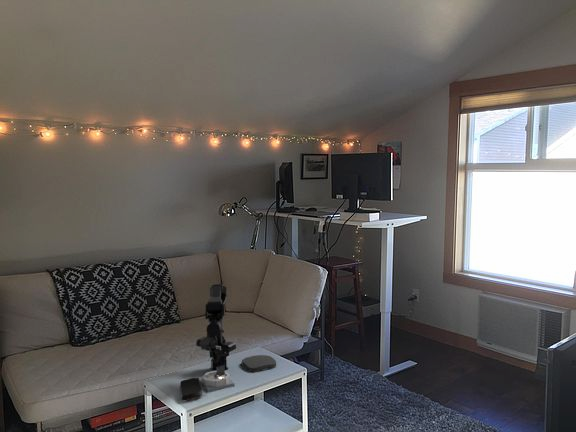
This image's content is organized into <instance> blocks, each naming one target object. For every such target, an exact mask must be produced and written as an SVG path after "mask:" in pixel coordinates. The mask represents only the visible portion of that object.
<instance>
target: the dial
mask: <svg viewBox="0 0 576 432" xmlns="http://www.w3.org/2000/svg"><path fill="white" fill-rule="evenodd" d="M216 369H217V373H212V374H209V375H208V376H207V379H210V380H219V379H221V378H222V377H223V378H225V371H226V370H225V366H224V365H220V366H217V367H216Z"/></svg>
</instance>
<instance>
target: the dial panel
mask: <svg viewBox="0 0 576 432" xmlns="http://www.w3.org/2000/svg"><path fill="white" fill-rule="evenodd" d="M212 373H217V371H214V370H211V371H209V372H208V371H207V372H205V374H203V375H202V376H201V377H202V378H199V382H200V385H201V387H203V388H204V390H206V392H208V393H209V392H210V393H211V392H214V391H219V390H222V389H227V388H233V387H235V382H234V381H233V380H231V373H229V372H228V371H226V370H225V378H223V377H222V378H221V379H219V380H210V379H207V376H208V375H209V374H212Z"/></svg>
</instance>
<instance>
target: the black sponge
mask: <svg viewBox="0 0 576 432" xmlns="http://www.w3.org/2000/svg"><path fill="white" fill-rule="evenodd" d="M199 379H200V378H199V377H191V378H187V379H184V380H181V381H180V382H179V385H180V386H179V389H180V392H181V400H182V401H189V400H194V399H199V398H201V397H203V388H202V385H201V384H200V382H199Z"/></svg>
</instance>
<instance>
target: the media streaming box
mask: <svg viewBox="0 0 576 432" xmlns="http://www.w3.org/2000/svg"><path fill="white" fill-rule="evenodd" d="M241 365H242V366H243V368H244V369H245V370H247V371H248V372H251V373H257V372H258V373H259V372H262V371H267V370H271V369H275V368H276V367H277V360H276V359H274V357H272V356H271V355H265V354H258V355H251V356H248V357H244V358H243V359H241Z"/></svg>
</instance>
